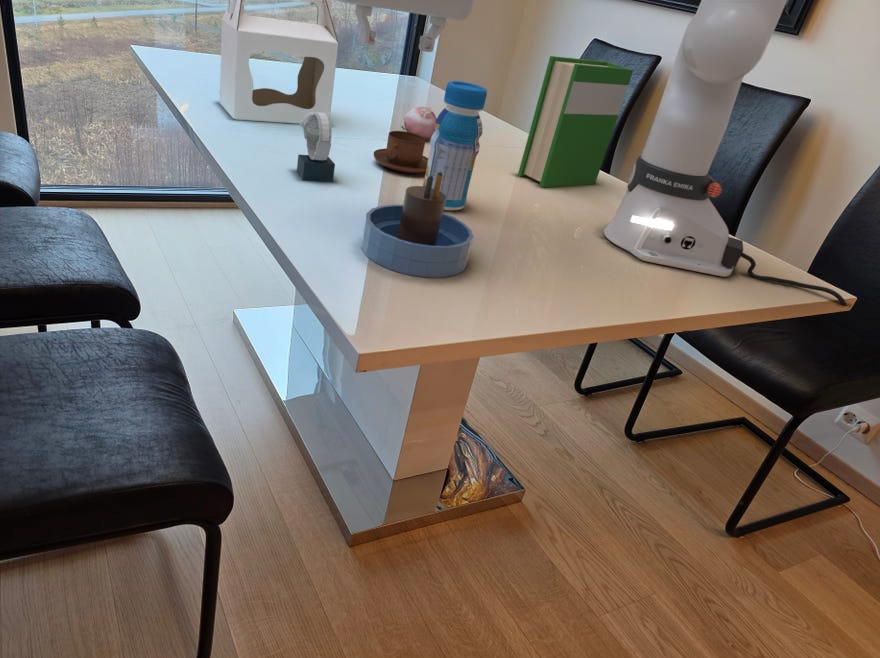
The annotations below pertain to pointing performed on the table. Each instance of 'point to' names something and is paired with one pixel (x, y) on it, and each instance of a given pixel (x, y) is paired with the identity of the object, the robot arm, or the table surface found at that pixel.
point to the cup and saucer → (403, 152)
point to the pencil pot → (422, 213)
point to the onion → (420, 122)
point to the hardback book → (573, 121)
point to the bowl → (415, 245)
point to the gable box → (281, 37)
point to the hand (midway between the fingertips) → (396, 47)
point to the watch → (316, 148)
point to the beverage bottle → (456, 141)
